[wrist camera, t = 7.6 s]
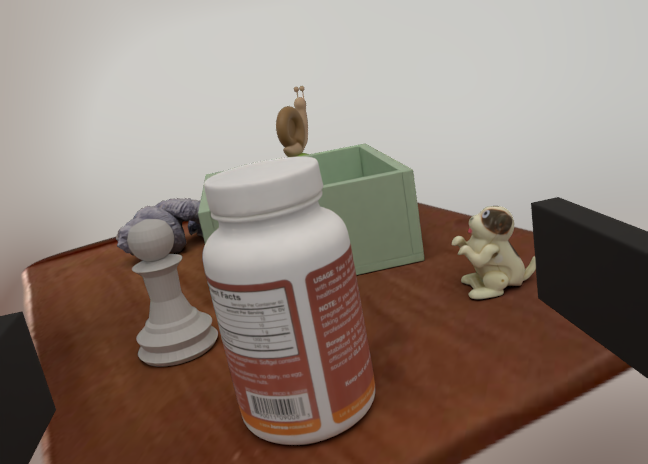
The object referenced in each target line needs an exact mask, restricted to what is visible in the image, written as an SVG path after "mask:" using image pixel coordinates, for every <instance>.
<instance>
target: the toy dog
mask: <svg viewBox="0 0 648 464" xmlns="http://www.w3.org/2000/svg"><path fill="white" fill-rule="evenodd" d="M469 226H470V228H469V230H468V233H470V234H472V237H471V238H470V240H469V241H468V242H466V241H465V239H464V238H463V237H461V236H457V237H455V238H454V239H453V241H452V245H453V246H457V245H458V246H459V248H460V250H459V253H458V255H463V254H464V255H465V256H466V257H467V258H468V259H469V261H470V262H471V263H472V264H473V266H474V268H475V270H476V273H472V274H468V275H465V276H463V277H462V280H461V282H462V283H465V284H470V285H471V286H472V287H473V290H471V292H470V293H469V297H470V298H473V299H485V298H491V297H496V296H500V295H502V294H503V293H504V291H503V289H504V288H505V287H506V286H520V285H521V284H522V282H523V281H524V280H526V279H528V278H529V277H530V276H531V275H532V274H533V272H534V271H535V269H536V261H535V256H534V257H533V258H532V260H531V262H530V264H529V266H528V267H527V268H526V269H525V268H524V265H523V262H522V260H521V259H520V257H519V255H518V254H517V252H516V251H515V249H514V248H513V247H512V245H511V244H510V242H509V241H508V239H509V238H510V236H511V235H512V233H513V230H514V220H513V217H512V215H511V213H510V212H509V211H508V210H507V209H505V208H503V207H499V206H491V207H486V208H484V209H483V210H482V211H481V212H480V213H479V214H478V215H475V216H473V217H471V218H470V220H469Z"/></svg>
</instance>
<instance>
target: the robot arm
mask: <svg viewBox="0 0 648 464" xmlns="http://www.w3.org/2000/svg"><path fill="white" fill-rule="evenodd" d="M531 208H532V221H533V235H534V248H535V261H536V275H537V288H538V298H539V299H540V300H541V301H543V302H544V303H545V304H547V305H548V306H550V307H551V308H552V309H554V310H555V311H556V312H558V313H559V314H560V315H562V316H563V317H565V318H566V319H567V320H569V321H570V322H571V323H573V324H574V325H575V326H577V327H578V328H580V329H581V330H582V331H584V332H585V333H586V334H588V335H589V336H590V337H592V338H593V339H595V340H596V341H597V342H599V343H600V344H601V345H603V346H604V347H605V348H607V349H608V350H610V351H611V352H612V353H614V354H615V355H616V356H618V357H619V358H620V359H622V360H623V361H625V362H626V363H627V364H629V365H630V366H631V367H633V368H634V369H635V370H637V371H638V372H639V373H641V374H642V375H644V376H645V377H646V378H648V231H645V230H642V229H640V228H637V227H635V226H632V225H629V224H627V223H624V222H621V221H619V220H616V219H614V218H611V217H608V216H606V215H603V214H601V213H598V212H595V211H593V210H590V209H588V208H585V207H582V206H580V205H577V204H574V203H572V202H569V201H567V200H564V199H562V198H559V197H557V198H552V199H548V200H543V201H538V202H534V203H531ZM55 411H56V408H55V405H54V402H53V399H52V396H51V393H50V390H49V388H48V385H47V382H46V379H45V376H44V373H43V370H42V367H41V364H40V361H39V359H38V356H37V353H36V350H35V347H34V344H33V341H32V338H31V335H30V332H29V329H28V327H27V324H26V321H25V318H24V315H23V312H18V313H14V314H8V315H4V316H0V464H29V462H30V460H31V458H32V456H33V454H34V452H35V449H36V448H37V446H38V444H39V442H40V440H41V438H42V436H43V434H44V432H45V430H46V428H47V426H48V424H49V422H50V420H51V418H52V417H53V415H54V413H55Z"/></svg>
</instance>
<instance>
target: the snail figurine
mask: <svg viewBox="0 0 648 464" xmlns="http://www.w3.org/2000/svg"><path fill="white" fill-rule="evenodd" d="M299 89H300V90H301V91H302V92H303V91H304V87H303V86H300V88H299ZM299 89H298V87H295V88H294V91H295V92H298V91H299ZM294 106H295V108H293V107H290V106H287V107H284V108H283V109H281V110H280V112H279V113H278V116H277V120H276V131H277V135H278V138H279V141H280V142H281V144H282V145H283V146H284V147H285V148H284V150H283V151H284V153H285V154H286V155H287V156H288V157H299V156H304V155H309V154H306V153H302V152H303V150H304V148H305V146H306V144H307V140H308V120H307V114H306V101H305V100H304V96H303V98H301V97H299V98H298V93H297V99H296V100H295V102H294Z"/></svg>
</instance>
